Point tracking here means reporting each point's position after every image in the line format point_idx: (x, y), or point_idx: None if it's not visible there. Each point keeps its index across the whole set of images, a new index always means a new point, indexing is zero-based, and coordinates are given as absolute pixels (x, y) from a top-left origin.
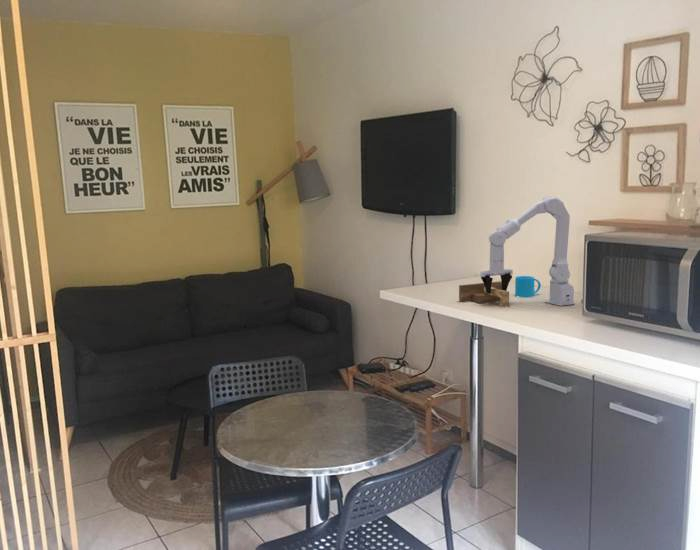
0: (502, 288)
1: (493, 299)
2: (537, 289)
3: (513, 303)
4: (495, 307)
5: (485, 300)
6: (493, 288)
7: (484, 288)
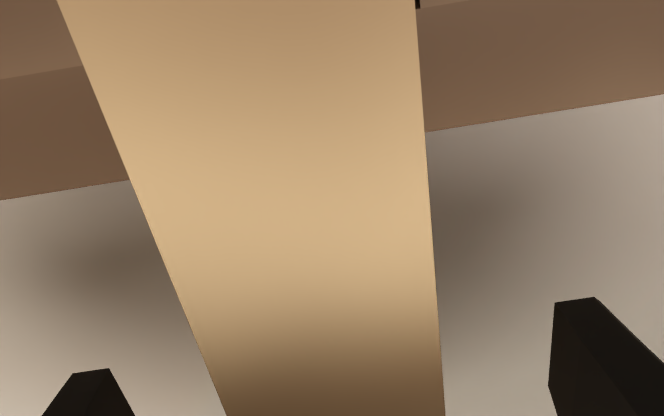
0: (588, 380)
1: None
2: None
3: (599, 264)
4: (198, 408)
5: None
6: (334, 330)
7: (84, 22)
